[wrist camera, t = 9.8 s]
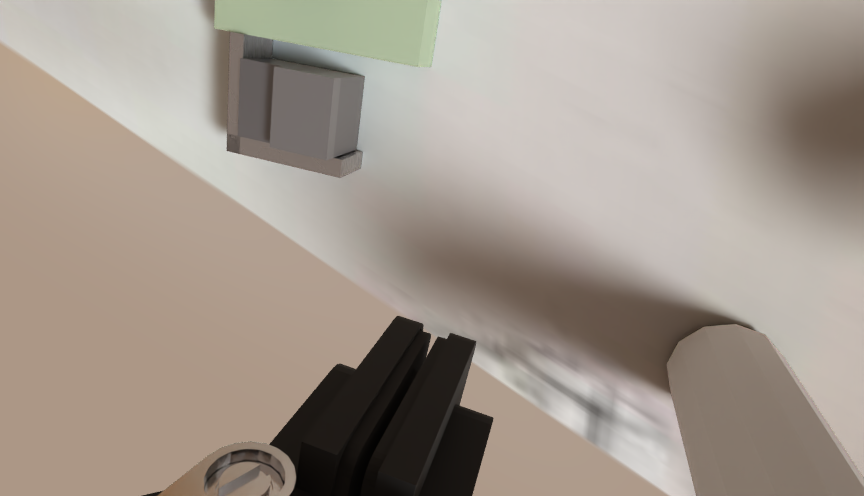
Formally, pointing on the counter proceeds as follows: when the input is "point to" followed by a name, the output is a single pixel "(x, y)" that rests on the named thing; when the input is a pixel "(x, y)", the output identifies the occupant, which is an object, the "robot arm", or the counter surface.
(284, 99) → the gray stepped block
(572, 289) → the counter surface
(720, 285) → the counter surface
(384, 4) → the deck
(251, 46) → the side bracket
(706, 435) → the water bottle
